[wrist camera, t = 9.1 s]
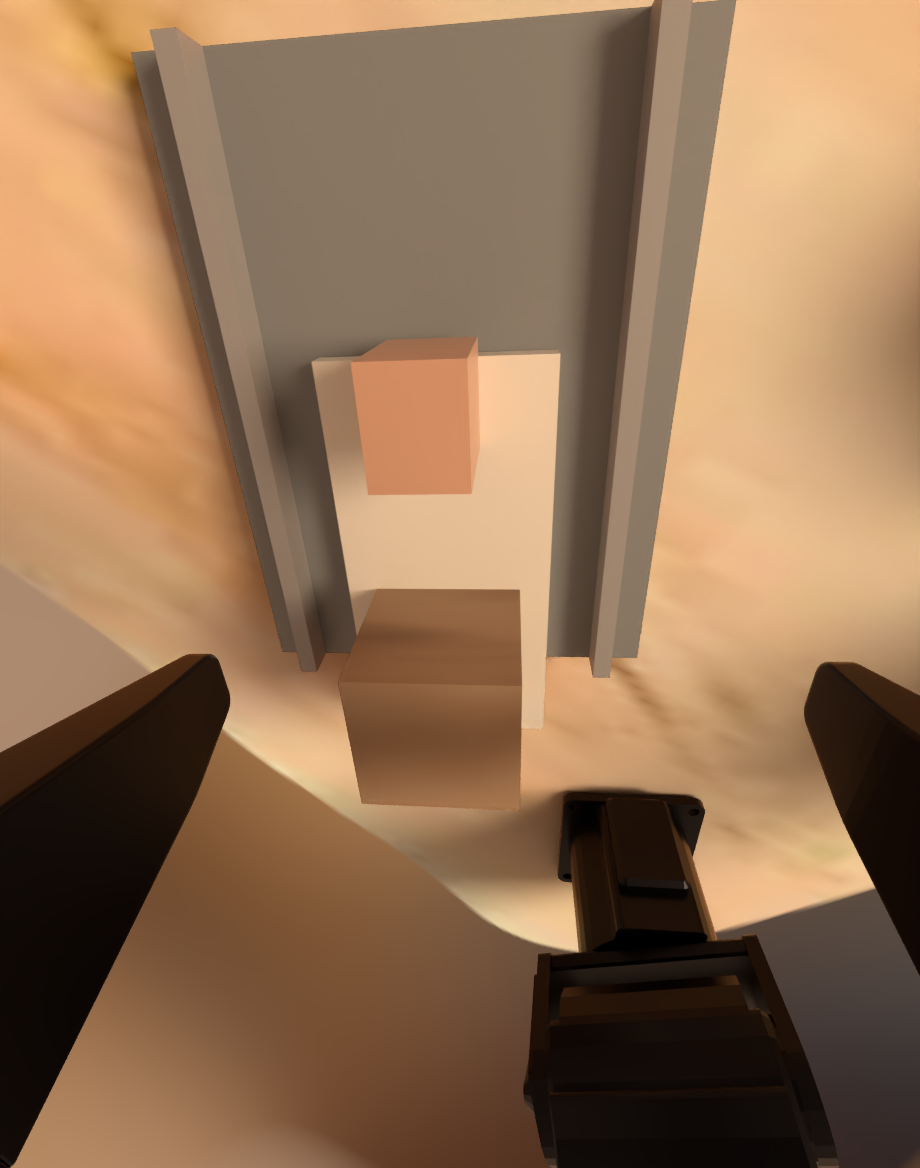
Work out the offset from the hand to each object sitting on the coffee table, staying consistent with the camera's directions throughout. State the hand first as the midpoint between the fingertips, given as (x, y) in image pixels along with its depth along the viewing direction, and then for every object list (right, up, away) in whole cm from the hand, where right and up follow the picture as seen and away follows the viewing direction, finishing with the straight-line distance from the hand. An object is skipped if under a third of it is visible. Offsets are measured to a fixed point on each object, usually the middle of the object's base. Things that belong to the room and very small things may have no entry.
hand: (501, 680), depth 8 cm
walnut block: (-1, -1, +12) cm, 12 cm away
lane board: (-1, +7, +10) cm, 12 cm away
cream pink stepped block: (-1, +2, +11) cm, 11 cm away
